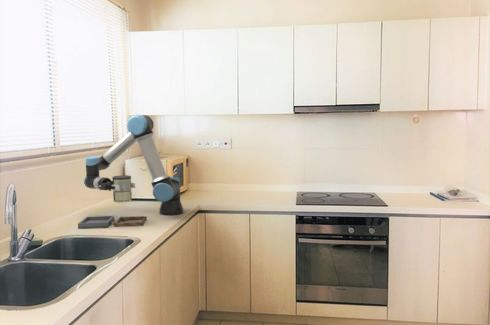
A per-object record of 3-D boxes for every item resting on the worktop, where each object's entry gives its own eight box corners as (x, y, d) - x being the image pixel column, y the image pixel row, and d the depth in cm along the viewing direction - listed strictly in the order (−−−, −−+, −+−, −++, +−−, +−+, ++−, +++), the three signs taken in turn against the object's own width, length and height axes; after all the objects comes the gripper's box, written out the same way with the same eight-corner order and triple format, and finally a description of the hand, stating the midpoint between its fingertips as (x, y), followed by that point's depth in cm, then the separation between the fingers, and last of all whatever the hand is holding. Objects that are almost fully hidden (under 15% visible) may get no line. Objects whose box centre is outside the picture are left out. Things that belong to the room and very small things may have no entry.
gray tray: (114, 220, 243) (114, 215, 243) (107, 227, 227) (107, 222, 227) (86, 221, 242) (86, 216, 242) (78, 228, 226) (77, 223, 226)
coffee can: (109, 201, 235) (108, 176, 234) (125, 198, 243) (124, 174, 242) (119, 203, 229) (118, 178, 227) (135, 200, 236) (134, 176, 235)
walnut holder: (146, 219, 246) (146, 216, 245) (142, 225, 230) (142, 222, 230) (120, 220, 244) (120, 217, 244) (114, 226, 229) (114, 223, 229)
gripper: (118, 187, 255) (142, 190, 242) (86, 192, 236) (110, 196, 224) (118, 175, 254) (142, 178, 241) (85, 179, 236) (110, 182, 223)
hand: (127, 186), depth 232 cm, fingers closed on coffee can, 10 cm apart
